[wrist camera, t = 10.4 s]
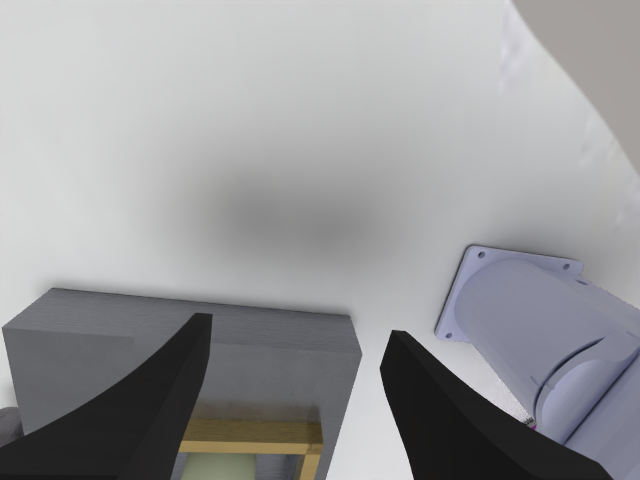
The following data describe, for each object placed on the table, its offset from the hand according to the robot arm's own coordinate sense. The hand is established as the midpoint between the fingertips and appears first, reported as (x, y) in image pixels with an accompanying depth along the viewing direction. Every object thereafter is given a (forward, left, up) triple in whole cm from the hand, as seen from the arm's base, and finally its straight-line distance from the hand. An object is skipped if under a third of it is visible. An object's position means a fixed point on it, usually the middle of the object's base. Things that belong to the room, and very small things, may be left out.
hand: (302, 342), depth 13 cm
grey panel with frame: (+6, +16, -9) cm, 20 cm away
